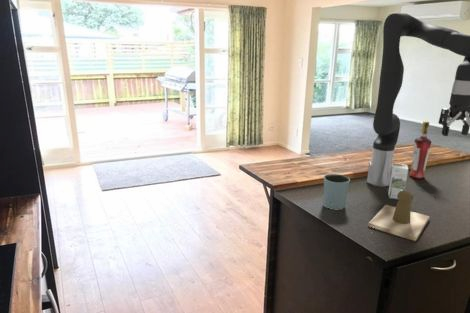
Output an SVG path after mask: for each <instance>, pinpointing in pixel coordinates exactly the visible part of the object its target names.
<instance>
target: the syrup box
mask: <svg viewBox="0 0 470 313" xmlns="http://www.w3.org/2000/svg"><path fill="white" fill-rule="evenodd" d="M408 174H409V167H408V164H402V163H395V162H392V168H391V175H390V182H389V185H388V190H387V194H388V199H391V200H396V201H398V198H397V195H398V193H399V192H400V191H406V185H407V179H408Z"/></svg>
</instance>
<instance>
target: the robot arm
mask: <svg viewBox="0 0 470 313" xmlns="http://www.w3.org/2000/svg"><path fill="white" fill-rule="evenodd" d="M382 34H383V35H382V36H383V37H382V39H383V40H382V41H383V42H382V43H383V44H382V55H381V67H380V74H379V83H378V85H379V86H378V93H377V103H376V108H375V112H374V118H373V122H372V128H373V131H374V132H375V133H376V134H377V137H376V139H374V141H373V144H372V151H371V152H372V153H371V159H370V163H369V164H368V171H367V179H366V183H368V184H370V185H372V186H375V187H381V188H382V187H389V184H390V178H391V171H392V165H393V161H394V160H393V159H394V153H395V148H396V145H397V142H398V140H399V133H400V129H401V120H400V118H399V116H398V115H396V113H393V112H394V106H395V102H396V100H397V97H398V95H399V93H400V92H401V89H402V85H403V82H404V80H403V79H404V73H405V72H404V71H405V67H404V63H403V62H404V61H403V59H402V56H401V52H400V43H401V38H402V37H410V38H417V39H420V40H422V41H424V42H426V43H427V44H430V45H432V46H435V47H437V48H440V49H444V50H449V51H450V52H452V53H453V54H454V53H455V54H456V55H459V56H462V57H464V58H463V60H462V62H461V63H460V64H458V65H457V67H456V71H455V75H454V76H455V77H454V81H453V84H452V89H451V94H450V98H449V108H445V107H443V108H441V110H440V111H441V112H440V114H439V119H438V124H439V125H442V130H441V134H442V137H443V136H444V137H448V136H449V133H450V126H451V124H452V123H454V122H456V121H459V120H460V121H461V122H462V129H461V135H462V136H468V134H469V132H470V35H469V34H464V33H460V32H459V31H458V30H455V29H451V28H447V27H443V26H440V25H437V24H436V25H435V24H433V23H432V24H431V23H428V22H424V21H423V20H420V19H418V18H416V17H414V16H413V15H410V14H408V13H404V12H392V13H389V15H387V16H386V18H385V19H384V22H383V30H382Z"/></svg>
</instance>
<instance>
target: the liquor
mask: <svg viewBox="0 0 470 313" xmlns="http://www.w3.org/2000/svg"><path fill="white" fill-rule="evenodd" d="M429 126H430V121H422V129H421V131H420V132H421V133H420V137H417V138H414V144H413V150H412V161H411V167H410V168H411V169H410V173H409V175H410V177H412V179H417V180H418V179H419V180H420V179H423V178H424V177H426V175H425V172H426V168H427V162H428V159H429V154H430V150H431V146H432V140H431V139H430V138H428V129H429Z"/></svg>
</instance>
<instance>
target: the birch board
mask: <svg viewBox="0 0 470 313" xmlns="http://www.w3.org/2000/svg"><path fill="white" fill-rule="evenodd" d="M395 209H396V206H392V205H388V204H385V205H384V206H383V207H382V208H381V209H380V210H379V211H378V212H377V213H376V215H374V217H372V219H371V220H370V221H369V222H368V224H367V226H369V228H371V227H372V228H371V229H374V228H375V230H379V231H381V232H384V233H388V234H391V235H393V236H398V237H401V238H405V239H408V240H410V241H413V242H416V241H417V240H418V238H419V237H420V235H421V234H422V232H423V230H424V229H425V227H426V225H427V224H428V222H429V220H430V215H426V214H423V213H420V212H414V211H411V214H410V223H408V224H401V223H397V222H395V221H394V220H393V215H394V212H395Z"/></svg>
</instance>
